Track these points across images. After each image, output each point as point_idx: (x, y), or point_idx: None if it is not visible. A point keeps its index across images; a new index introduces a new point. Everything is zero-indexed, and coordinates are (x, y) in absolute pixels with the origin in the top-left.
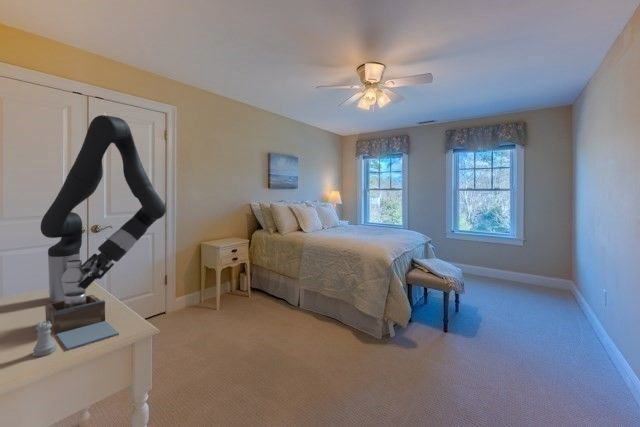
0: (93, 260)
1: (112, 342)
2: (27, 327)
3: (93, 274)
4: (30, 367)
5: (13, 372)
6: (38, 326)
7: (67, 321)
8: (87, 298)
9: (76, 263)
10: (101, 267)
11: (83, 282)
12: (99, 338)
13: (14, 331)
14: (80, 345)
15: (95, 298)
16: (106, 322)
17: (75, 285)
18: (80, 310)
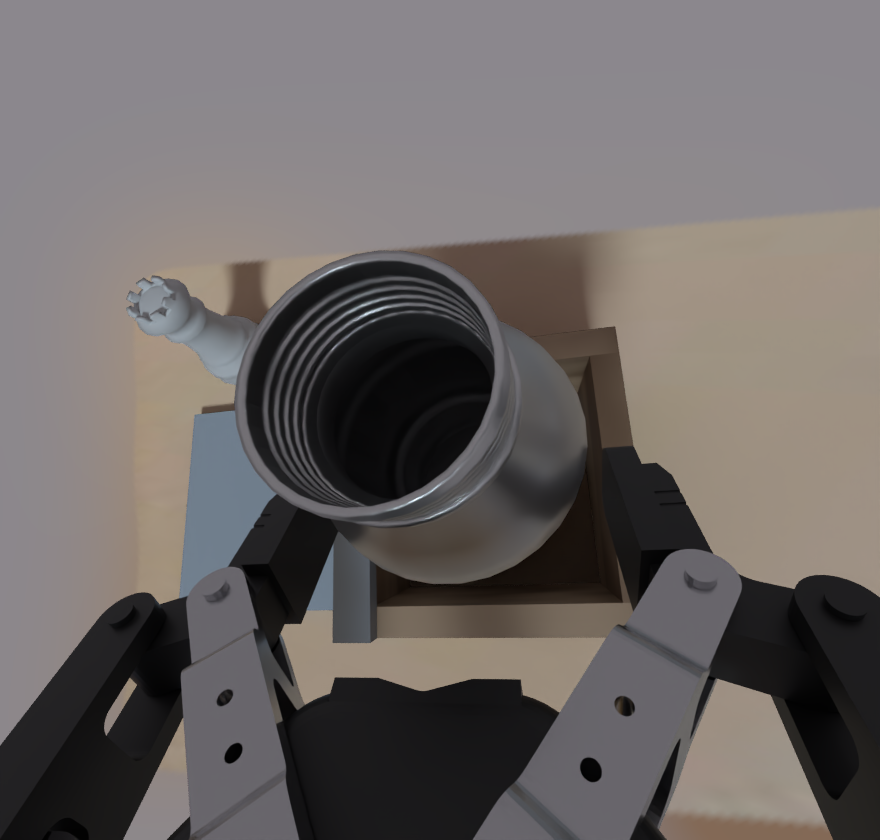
0: (483, 831)
1: (139, 564)
2: (582, 303)
3: (119, 602)
4: None
5: None
6: (145, 283)
7: None
8: (617, 583)
9: (258, 410)
10: (3, 757)
11: (283, 505)
12: (186, 528)
13: (564, 262)
14: (193, 458)
15: (526, 622)
16: None
17: (358, 448)
18: None
